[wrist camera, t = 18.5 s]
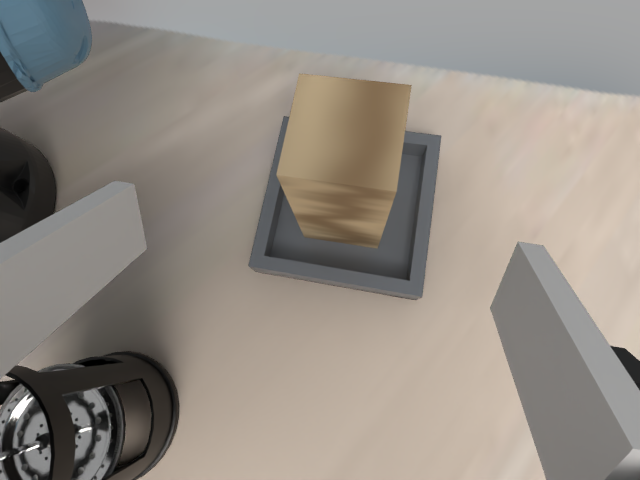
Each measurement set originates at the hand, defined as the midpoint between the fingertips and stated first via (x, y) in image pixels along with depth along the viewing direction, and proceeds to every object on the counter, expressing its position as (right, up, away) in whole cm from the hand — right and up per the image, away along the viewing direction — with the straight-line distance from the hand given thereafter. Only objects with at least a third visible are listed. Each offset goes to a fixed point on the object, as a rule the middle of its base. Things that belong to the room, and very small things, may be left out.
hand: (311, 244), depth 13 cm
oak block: (+3, +3, +18) cm, 18 cm away
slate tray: (+3, +3, +18) cm, 18 cm away
